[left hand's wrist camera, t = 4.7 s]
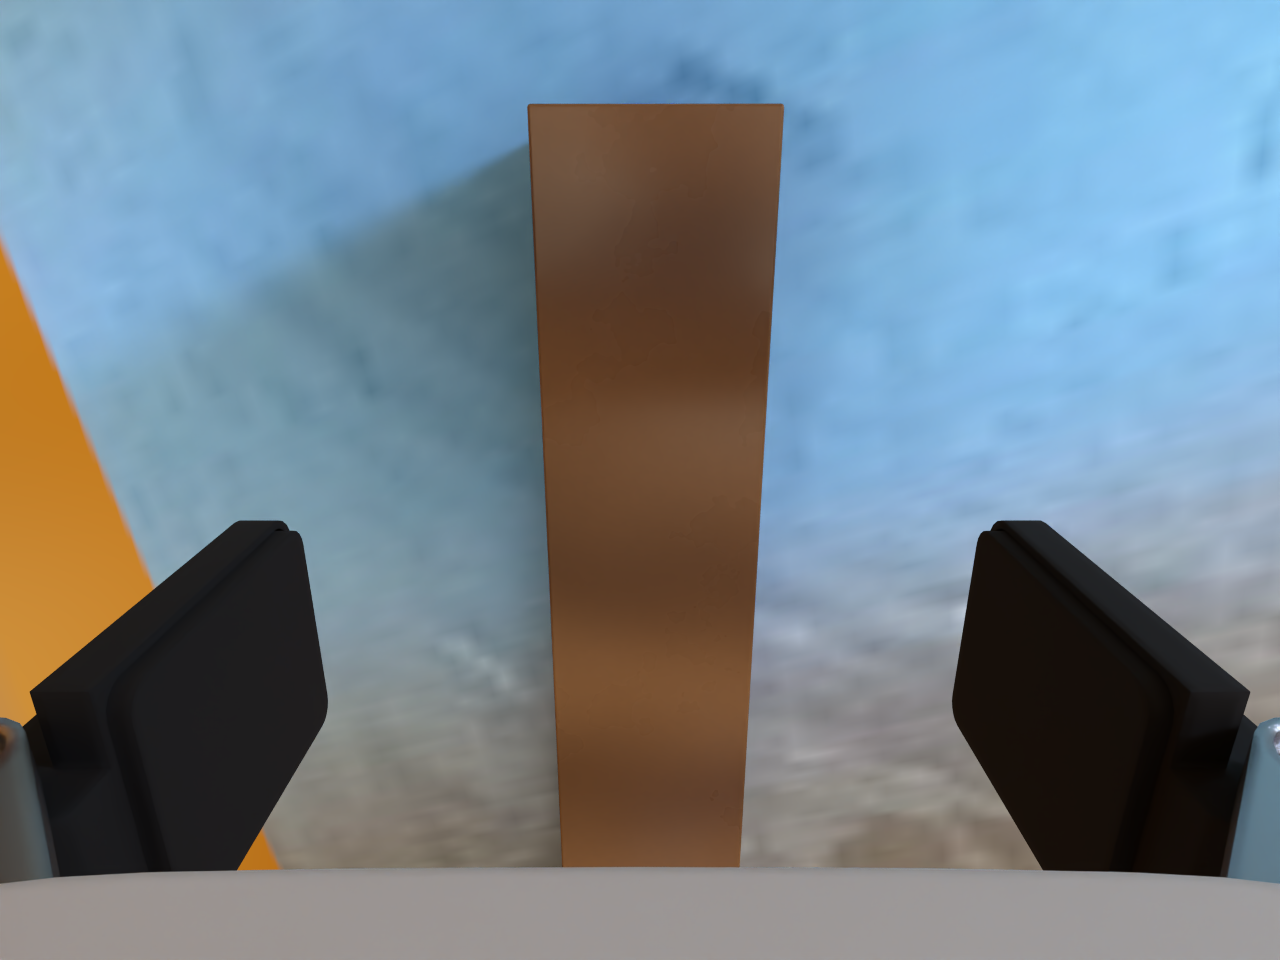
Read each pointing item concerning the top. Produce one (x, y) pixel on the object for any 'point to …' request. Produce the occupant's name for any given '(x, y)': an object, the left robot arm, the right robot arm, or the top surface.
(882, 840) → the top surface
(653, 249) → the bar
